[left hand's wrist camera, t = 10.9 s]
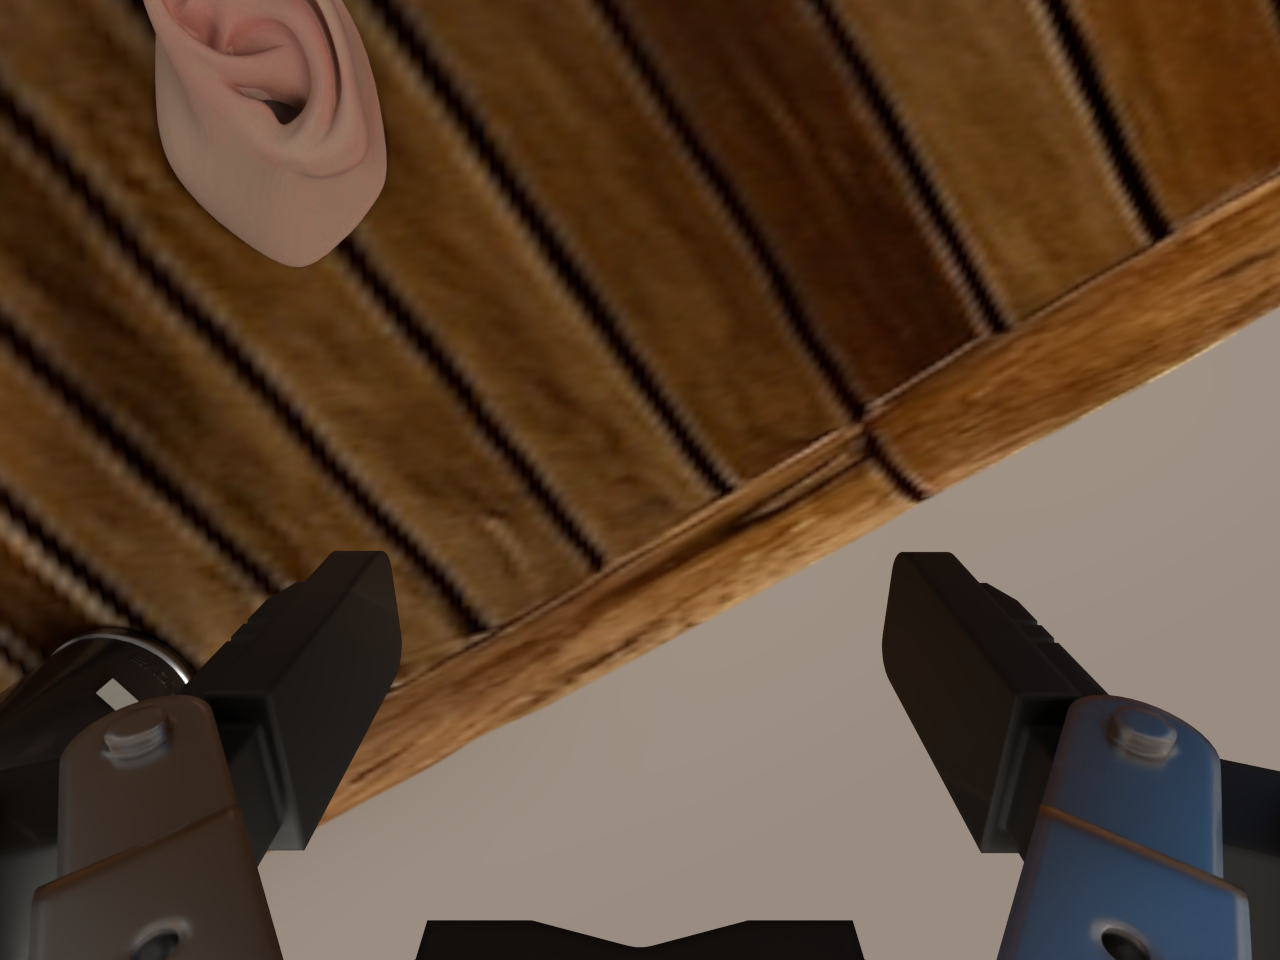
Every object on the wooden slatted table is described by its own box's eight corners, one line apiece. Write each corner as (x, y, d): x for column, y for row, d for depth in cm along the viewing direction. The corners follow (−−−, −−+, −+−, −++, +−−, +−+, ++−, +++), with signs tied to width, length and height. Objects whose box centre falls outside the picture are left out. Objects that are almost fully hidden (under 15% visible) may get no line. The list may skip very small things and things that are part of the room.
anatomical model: (317, 303, 32) (61, 189, 30) (350, 294, 36) (123, 191, 34) (408, -5, 28) (115, -158, 26) (435, 21, 32) (180, -112, 30)
